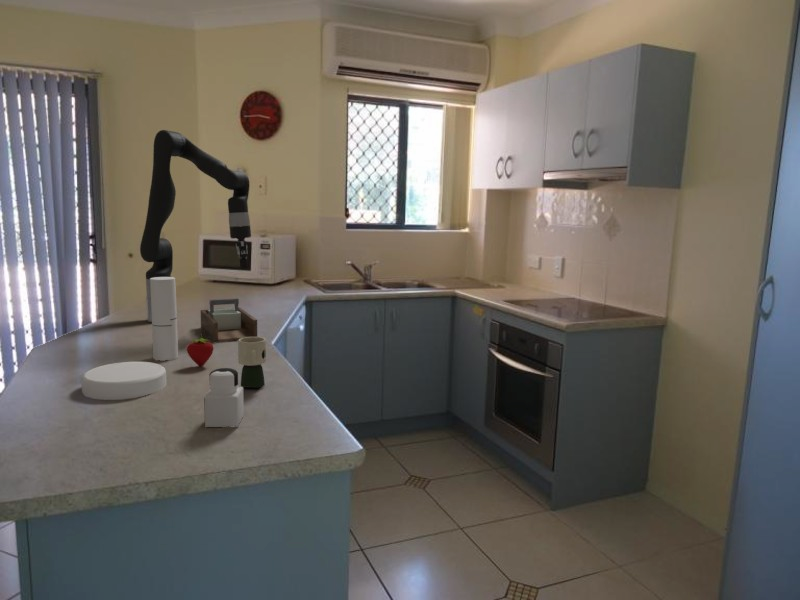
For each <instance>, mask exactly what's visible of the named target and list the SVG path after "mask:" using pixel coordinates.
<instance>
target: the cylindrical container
mask: <svg viewBox="0 0 800 600" xmlns="http://www.w3.org/2000/svg"><path fill="white" fill-rule="evenodd" d="M176 285H177V283H176V277H173V276H172V277H154V278H150V288H151V312H152V322H151V330H152V351H153V353H152V354H153V355H152V356H153V360H154V359H155V360H154V361H158V360H160V361H161V362H163V361H164V362H166V361H165V360H168V361H173V360H176V359H178V358H179V343H178V341H179V340H178V317H177V315H178V313H177V290H176V289H177V288H176V287H177V286H176ZM160 361H159V362H160Z"/></svg>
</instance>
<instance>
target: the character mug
mask: <svg viewBox="0 0 800 600" xmlns="http://www.w3.org/2000/svg"><path fill="white" fill-rule="evenodd" d="M237 348H238V349H237V351H238V352H237V353H238V357H237V358H238V361H237V362H238V364H239V365H242V367H241V368H242V369H241V376H240V387H243V388H251V389H255V388H262V387H264V386H265V385H266V384H265V376H264V368H263V366H262V364H265V363H266V361H267V340H266V338H265V337H262V336H257V337H245V338H241V339H239V340H238V342H237Z"/></svg>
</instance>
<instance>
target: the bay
mask: <svg viewBox="0 0 800 600" xmlns="http://www.w3.org/2000/svg"><path fill="white" fill-rule="evenodd" d="M234 308H235V307H231V308H230V307H228V308H226V309H234ZM217 309H218V308H214V310H217ZM208 310H209V309H200V328H201V330H202V331H203V332H204V331H205V332H204V333H205V334H206V335H207V336H208V337H209V338H210V339H211V341H213V343H214V342H217V343H223V342H224V341H228V342H237V341H236V340H239V339H241V338H245V337H258V319H257V318H255V317H254V316H252V315H251V314H250V313H248V312H247V311H245V310H244V309H242V308H241V307H238V311H239V312H240V313H241V329H228V330H218V323H217V322H216V321H215V320H214V319H213V318H212V317H211V316H210V315H209V314H208ZM224 343H225V342H224Z"/></svg>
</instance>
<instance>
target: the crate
mask: <svg viewBox="0 0 800 600" xmlns="http://www.w3.org/2000/svg"><path fill="white" fill-rule="evenodd" d="M239 301H240V300H239V298H237V297H236V298H234V297H233V298H219V299H218V298H217V299H209V309H207V310H208V314H209V315H210V316H211V317H212V318H213V319H214V320H215V321H216V322H217V323H218V330H228V329H241V313H240V312H239V311H238V308H239ZM219 305H234V307H233V308H234V309H227V308H216V309H217V310H214V309H215V308H214V307H215V306H219Z"/></svg>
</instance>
